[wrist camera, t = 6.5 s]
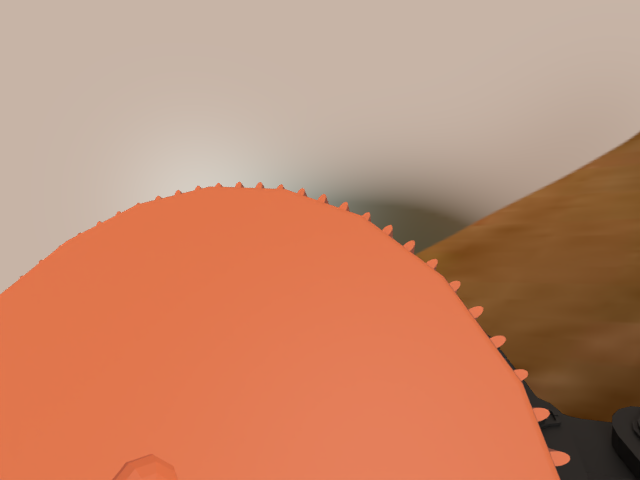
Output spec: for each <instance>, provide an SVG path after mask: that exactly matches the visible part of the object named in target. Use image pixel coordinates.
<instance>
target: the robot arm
mask: <svg viewBox="0 0 640 480" xmlns="http://www.w3.org/2000/svg"><path fill="white" fill-rule="evenodd" d="M487 336H488V337H489V338H492V337H490V336H489V335H487ZM497 349H498V351H499V352H500V353H501V355H502V356H503V357H504V359H505V360H506V361H507V363H508V364H509V365H510V367H511V368H512V369H513V370H516V369H515V368H514V366H513V365H512V364H511V363H510V361H509V360H507V357H506V356H505V355H504V353H503V352H502V351H501V350H500V348H499V347H498V348H497ZM521 382H522V383H523V385H524V388H525V390H526V393H527V396H528V398H529V401H530V403H531V406H532V408H545V409H547V410H548V411H549V413H550V414H549V416H548V417H547V418H546V419H544V420H542V421H539V422H538V424H539V426H540V429H541V431H542V434H543V436H544V439H545V441H546V444H547V446H548V448H550V449H554V450H557V451H560V452H564V453H566V454H568V455H569V456H570V460H569V462H568V463H566V464H564V465H561V466H555V467H556V469H557V472H558V475H559V477H560V480H640V407H633V406H630V407H626V408H622V409H619V410H618V411H617V412H616V413H615V414H614V415H613V416H612V423H611V422H603V421H595V420H586V419H580V418H575V417H570V416H567V415H564V414H561V412H560V411H559V410H558V409H556V408H555V407H554V406H553V405H551V404H550V403H548V402H546V401H544V400H541V399H539V398H537V397H536V396H535V394H534V393H533V392H532V390H531V389H530V388H529V386H528V385H527V384H526V382H525V381H524V380H522V381H521Z"/></svg>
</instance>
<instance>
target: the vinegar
mask: <svg viewBox="0 0 640 480" xmlns="http://www.w3.org/2000/svg"><path fill="white" fill-rule="evenodd" d="M414 246H415V242H414V241H409V242H407V243H406V244H405V245H404V246H402V245H401V244H399V243H398V242H397V241H395V240H394V239H393V238H392V226H391V225H389V226H386V227H385V228H384V229H383V230H381V229H379V228H378V227H377V226H375V225H374V224H373V223H371V219H370V213H365V214H364V215H363V216H361V215H358V214H355V213H352V212H350V211H349V207H348V203H347V202H345V203H343V204H342V205H341V206H340V207H339V208H338V207H335V206H332V205H329V204H328V201H327V198H326V195H325V194H323V195H321V196H320V197H319V199H318V200H315V199H312V198H309V197H307V195H306V193H305V190H304V189H303V188H302V189H300V190H299V191H298V193H294V192H292V191H289V190H286V189H284V187H283V185H282V184H281V185H279V186H278V188H277V189H265V188H264V186H263V185H262V183H261V182H260V183H258V184H257V186H256V188H244V187H243V185H242V184H241V182H238V183H237V184H236V186H235V187H222V186H221V185H220V183H218V184H217V185H216V186H215V187H206V188H201V187H200V186H197V187H196V189H195V190H194V191H190V192H186V193H181V192H180V191H179V190H178V191H176V193H175V195H174V196H170V197H166V198H161V197H160V196H157V197H156V199H155V200H154V201H149V202H145V203H142V204H140V203H137V205H135V206H134V207H132V208H130V209H128V210H126V211H124V212H122V213H121V212H117V214H116V216H114V217H112V218H110V219H108V220H107V221H104V222H103V223H102V222H100V221H99V222H98V223H97V226H95V227H93V228H91V229H89V230H87V231H85V232H83V233H79V234H78V235H77V236H76V237H73V238H72V239H70V240H68V241H66V242H65V243H64V244H62V245H61V246H59V248H58V249H56V250H55V251H54V252H53V253H51V254H50V255H49V256H48V257H46V258H45V259H44V260H40V261H39V264H38V265H36V266H35V267H34V268H33V269H31V270H30V271H29V272H28V273H26V274H25V275H24V276H21V277H20V279H19V280H18V281H17V282H15V283H14V284H13V285H12V286H10V287H9V288H8V289H7V290H5V291H4V292H3V293H2V294H0V480H560V477H559V475H558V472H557V469H556V467H555V466H561V465H564V464H566V463H568V462H569V460H570V456H569V455H568V454H566V453H564V452H560V451H557V450H554V449H550V448H548V446H547V444H546V441H545V439H544V436H543V434H542V431H541V429H540V426H539V424H538V422H539V421H542V420H544V419H546V418H547V417H548V416H549V414H550V413H549V411H548V410H547V409H545V408H532V406H531V403H530V401H529V398H528V396H527V393H526V390H525V388H524V385H523V383H522V382H521V381H522V380H524V379H525V378H526V377H527V376H528V372H527V371H526V370H523V369H518V370H513V369H512V368H511V367H510V365H509V364H508V363H507V361H506V360H505V359H504V357H503V356H502V355H501V353H500V352H499V351H498V349H497V348H498V347H500V346H501V345H503V344H504V342H505V341H506V338H505V337H504V336H494V337H492V338H489V337H488V336H487V334H486V333H485V332H484V330H483V329H482V328H481V326H480V325H479V324H478V322H477V321H476V319H477V318H478V316H479V315H480V314H481V313H482V312H483V307H481V306H476V307H473V308H471V309H469V310H468V309H467V307H466V306H465V305H464V303H463V302H462V301H461V299H460V298H459V297H458V295H457V294H456V292H457V290H458V288H459V287H460V281H453V282H451V283H448V282H447V280H446V279H445V278H444V277H443V276H442V275H441V274H439V273H438V272H437V271H435V270H436V266H437V263H438V261H437V259H432V260H430V261H428V262H427V263H425V262H423V261H422V260H421V259H419V258H418V257H417V256H415V255H414Z"/></svg>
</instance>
